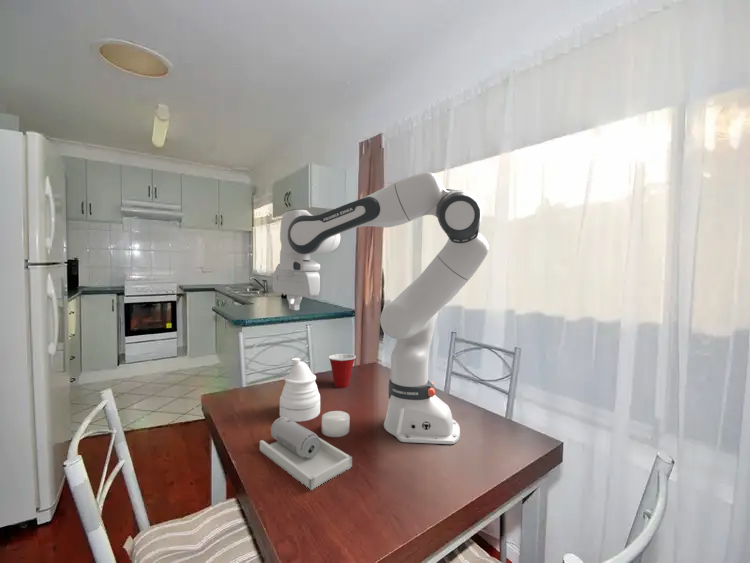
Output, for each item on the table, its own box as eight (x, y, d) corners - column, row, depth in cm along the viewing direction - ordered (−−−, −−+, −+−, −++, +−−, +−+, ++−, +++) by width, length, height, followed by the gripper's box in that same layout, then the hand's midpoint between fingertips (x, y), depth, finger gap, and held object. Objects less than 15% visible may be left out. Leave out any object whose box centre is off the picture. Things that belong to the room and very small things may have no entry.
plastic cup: (350, 379, 144) (350, 350, 143) (359, 388, 134) (359, 357, 133) (324, 382, 139) (325, 353, 139) (332, 391, 129) (332, 360, 129)
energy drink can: (292, 422, 97) (326, 442, 87) (277, 442, 94) (311, 465, 84) (280, 411, 94) (314, 430, 84) (264, 430, 91) (298, 453, 81)
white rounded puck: (352, 425, 103) (352, 412, 103) (344, 438, 95) (344, 424, 95) (327, 422, 105) (327, 409, 105) (317, 434, 97) (317, 421, 97)
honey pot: (297, 425, 102) (298, 366, 101) (271, 413, 110) (271, 358, 109) (328, 411, 113) (329, 357, 112) (302, 401, 120) (302, 350, 119)
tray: (259, 450, 89) (259, 441, 89) (298, 434, 97) (299, 425, 97) (311, 490, 74) (311, 479, 74) (352, 467, 82) (352, 457, 82)
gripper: (267, 263, 109) (267, 306, 109) (305, 265, 95) (305, 314, 95) (285, 263, 113) (284, 305, 114) (324, 265, 99) (323, 312, 100)
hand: (294, 309), depth 105 cm, fingers closed
